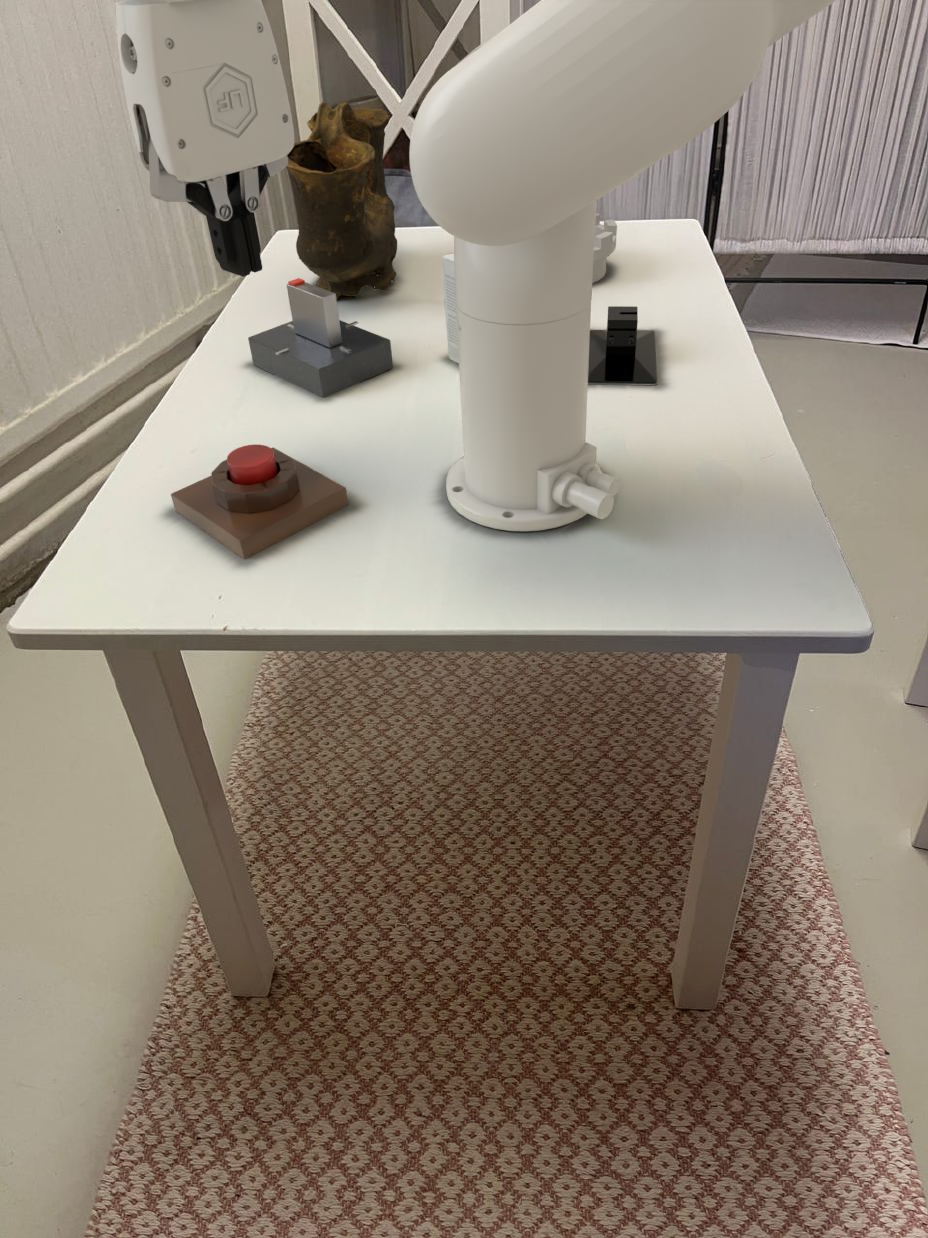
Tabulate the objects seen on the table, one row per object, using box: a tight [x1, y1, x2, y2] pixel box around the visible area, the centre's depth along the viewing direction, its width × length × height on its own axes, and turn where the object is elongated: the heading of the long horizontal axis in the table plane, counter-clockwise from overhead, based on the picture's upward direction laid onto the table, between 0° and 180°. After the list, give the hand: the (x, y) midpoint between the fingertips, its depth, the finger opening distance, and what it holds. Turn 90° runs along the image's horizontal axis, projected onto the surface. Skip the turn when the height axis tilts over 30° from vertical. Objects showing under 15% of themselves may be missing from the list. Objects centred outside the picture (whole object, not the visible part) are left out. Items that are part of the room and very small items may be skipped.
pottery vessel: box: [285, 101, 398, 300], centre depth 108 cm, size 25×11×20 cm, turn 176°
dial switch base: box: [247, 319, 394, 399], centre depth 94 cm, size 12×10×3 cm
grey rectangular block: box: [286, 277, 342, 348], centre depth 92 cm, size 6×2×5 cm, turn 44°
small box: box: [441, 252, 459, 365], centre depth 92 cm, size 8×6×10 cm
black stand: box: [588, 305, 658, 386], centre depth 92 cm, size 12×7×5 cm, turn 172°
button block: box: [170, 447, 349, 560], centre depth 74 cm, size 10×10×4 cm
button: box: [226, 444, 277, 485], centre depth 72 cm, size 4×4×2 cm
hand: (241, 269), depth 68 cm, fingers closed
